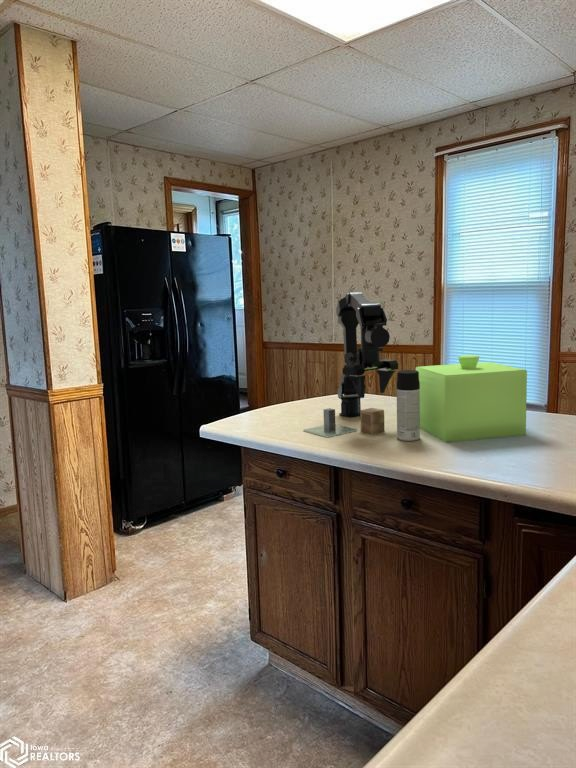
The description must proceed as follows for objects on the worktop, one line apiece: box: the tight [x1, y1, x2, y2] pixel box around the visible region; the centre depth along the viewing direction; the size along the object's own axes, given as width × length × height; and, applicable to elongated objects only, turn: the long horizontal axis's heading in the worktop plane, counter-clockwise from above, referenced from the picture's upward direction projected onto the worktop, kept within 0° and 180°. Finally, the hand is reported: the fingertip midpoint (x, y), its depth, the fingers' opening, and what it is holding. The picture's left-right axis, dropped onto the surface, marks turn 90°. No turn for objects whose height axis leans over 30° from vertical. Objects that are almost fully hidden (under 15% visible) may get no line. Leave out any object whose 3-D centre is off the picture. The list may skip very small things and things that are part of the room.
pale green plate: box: [303, 407, 358, 438], centre depth 183 cm, size 12×12×7 cm
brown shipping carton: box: [359, 407, 385, 435], centre depth 180 cm, size 5×5×7 cm
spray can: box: [396, 369, 421, 442], centre depth 169 cm, size 7×7×20 cm
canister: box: [415, 354, 528, 443], centre depth 175 cm, size 25×21×23 cm
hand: (371, 394), depth 179 cm, fingers open, 9 cm apart
